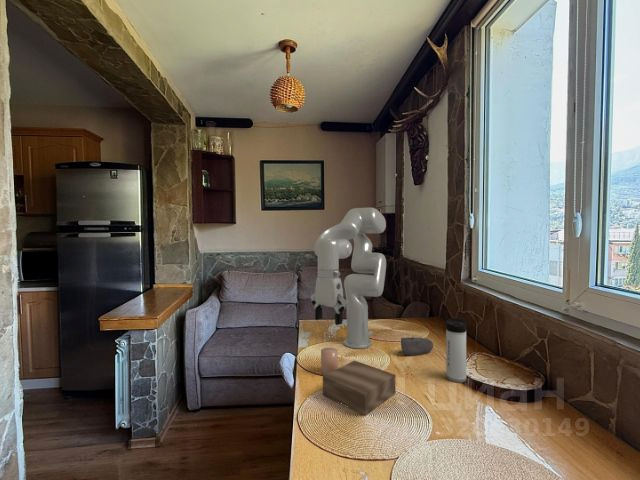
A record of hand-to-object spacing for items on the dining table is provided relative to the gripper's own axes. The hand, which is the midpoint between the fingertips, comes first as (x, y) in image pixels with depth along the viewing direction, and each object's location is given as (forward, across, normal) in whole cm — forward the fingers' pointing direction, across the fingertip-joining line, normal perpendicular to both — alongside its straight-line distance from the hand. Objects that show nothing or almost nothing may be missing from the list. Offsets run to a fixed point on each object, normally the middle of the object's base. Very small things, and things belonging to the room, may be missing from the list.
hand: (328, 321), depth 112 cm
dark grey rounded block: (+19, -15, -37) cm, 44 cm away
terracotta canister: (+19, 0, 0) cm, 19 cm away
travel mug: (+19, -35, -26) cm, 48 cm away
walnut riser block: (+19, -17, +5) cm, 26 cm away
